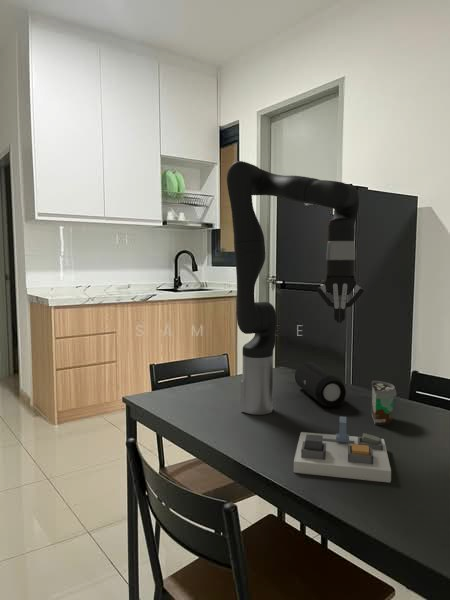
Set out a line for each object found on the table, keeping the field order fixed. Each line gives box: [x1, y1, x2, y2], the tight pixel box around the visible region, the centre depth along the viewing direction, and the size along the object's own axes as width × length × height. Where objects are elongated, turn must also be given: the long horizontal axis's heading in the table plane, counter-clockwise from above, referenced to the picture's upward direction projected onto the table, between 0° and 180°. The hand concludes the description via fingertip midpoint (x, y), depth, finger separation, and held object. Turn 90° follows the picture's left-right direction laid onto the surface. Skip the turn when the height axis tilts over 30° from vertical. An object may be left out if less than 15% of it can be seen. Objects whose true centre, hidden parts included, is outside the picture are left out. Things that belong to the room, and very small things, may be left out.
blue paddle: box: [335, 416, 350, 443], centre depth 113 cm, size 3×4×5 cm
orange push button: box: [351, 444, 369, 455], centre depth 104 cm, size 4×4×2 cm
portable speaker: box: [294, 361, 347, 408], centre depth 158 cm, size 26×10×10 cm, turn 10°
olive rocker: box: [361, 432, 380, 445], centre depth 111 cm, size 4×3×1 cm
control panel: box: [293, 431, 392, 483], centre depth 108 cm, size 20×18×4 cm
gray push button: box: [305, 434, 323, 451], centre depth 106 cm, size 4×4×2 cm
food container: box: [371, 380, 398, 426], centre depth 135 cm, size 12×6×10 cm, turn 168°
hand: (339, 322), depth 129 cm, fingers closed
